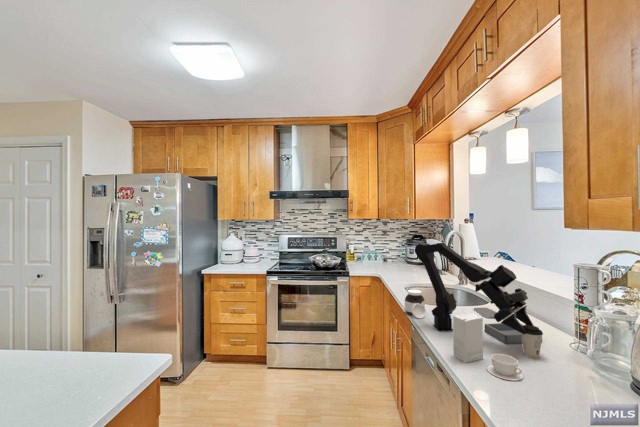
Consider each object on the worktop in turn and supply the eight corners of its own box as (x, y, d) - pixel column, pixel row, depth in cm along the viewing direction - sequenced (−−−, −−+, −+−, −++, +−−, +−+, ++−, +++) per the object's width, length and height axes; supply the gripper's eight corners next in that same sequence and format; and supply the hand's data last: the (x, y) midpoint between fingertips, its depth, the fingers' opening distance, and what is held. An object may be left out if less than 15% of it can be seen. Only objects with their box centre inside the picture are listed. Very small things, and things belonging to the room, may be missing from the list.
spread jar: (414, 310, 159) (414, 288, 159) (433, 315, 150) (433, 292, 150) (399, 314, 152) (399, 291, 152) (418, 320, 143) (418, 296, 143)
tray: (505, 344, 116) (505, 335, 116) (484, 331, 129) (484, 323, 129) (542, 342, 118) (542, 333, 118) (517, 330, 130) (517, 322, 130)
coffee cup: (546, 361, 103) (546, 332, 103) (522, 357, 105) (522, 329, 105) (539, 352, 109) (539, 325, 109) (517, 349, 112) (517, 322, 112)
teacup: (480, 370, 97) (480, 355, 97) (498, 363, 102) (498, 349, 102) (512, 385, 88) (512, 369, 88) (530, 376, 93) (530, 361, 93)
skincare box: (470, 352, 109) (469, 311, 110) (484, 359, 104) (483, 317, 104) (452, 355, 107) (452, 314, 107) (465, 363, 101) (465, 320, 101)
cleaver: (525, 328, 133) (525, 324, 133) (504, 329, 132) (504, 324, 132) (485, 309, 162) (485, 305, 162) (468, 309, 162) (468, 305, 162)
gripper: (503, 285, 106) (541, 325, 97) (519, 278, 118) (554, 313, 109) (480, 303, 112) (514, 341, 103) (498, 294, 124) (529, 328, 115)
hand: (529, 330), depth 108 cm, fingers open, 9 cm apart
